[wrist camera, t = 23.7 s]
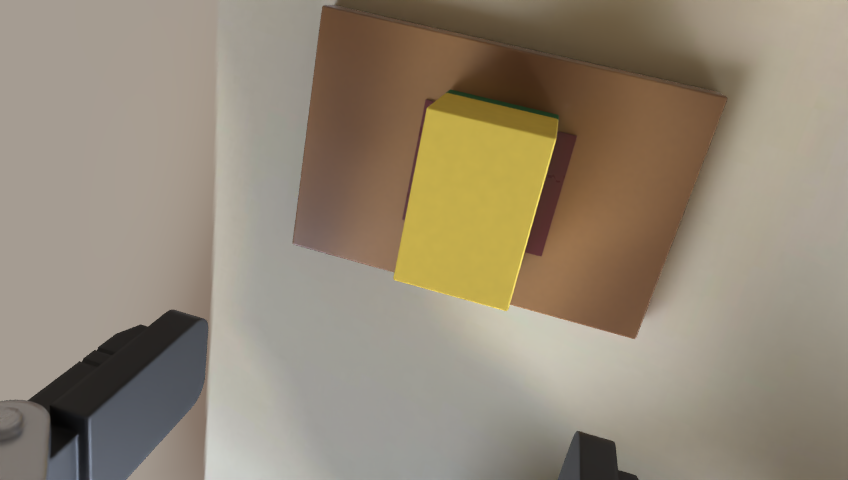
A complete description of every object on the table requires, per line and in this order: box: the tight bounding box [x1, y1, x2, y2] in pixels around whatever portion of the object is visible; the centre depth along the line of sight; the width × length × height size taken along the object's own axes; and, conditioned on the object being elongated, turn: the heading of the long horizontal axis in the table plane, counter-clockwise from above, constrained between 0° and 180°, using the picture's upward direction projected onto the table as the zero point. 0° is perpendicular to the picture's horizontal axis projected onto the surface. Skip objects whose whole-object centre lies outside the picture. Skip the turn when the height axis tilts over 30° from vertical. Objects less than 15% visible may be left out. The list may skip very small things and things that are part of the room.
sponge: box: [394, 89, 559, 311], centre depth 28 cm, size 8×5×5 cm, turn 169°
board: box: [293, 5, 727, 339], centre depth 31 cm, size 18×12×2 cm, turn 78°
